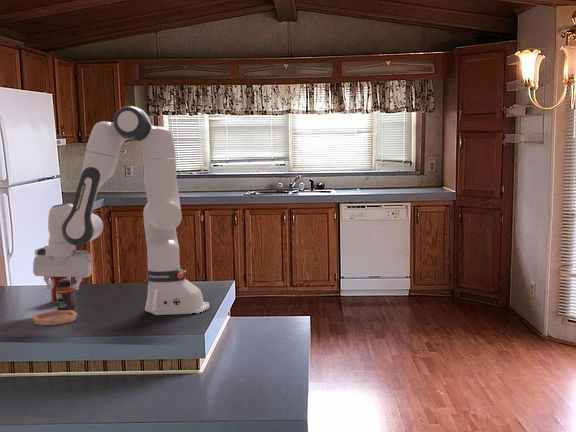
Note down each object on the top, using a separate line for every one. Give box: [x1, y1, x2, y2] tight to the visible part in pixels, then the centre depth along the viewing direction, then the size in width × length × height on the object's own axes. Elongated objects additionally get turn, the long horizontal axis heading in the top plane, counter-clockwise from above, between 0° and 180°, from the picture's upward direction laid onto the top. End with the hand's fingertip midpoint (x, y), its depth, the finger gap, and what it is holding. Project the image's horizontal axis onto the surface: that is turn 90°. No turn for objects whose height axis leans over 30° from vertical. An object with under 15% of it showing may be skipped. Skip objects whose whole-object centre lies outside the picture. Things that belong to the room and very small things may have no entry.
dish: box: [32, 309, 78, 326], centre depth 202 cm, size 13×13×2 cm
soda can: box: [49, 276, 72, 304], centre depth 230 cm, size 7×7×12 cm
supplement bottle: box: [56, 279, 76, 312], centre depth 213 cm, size 6×6×11 cm
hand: (63, 289), depth 213 cm, fingers open, 8 cm apart
